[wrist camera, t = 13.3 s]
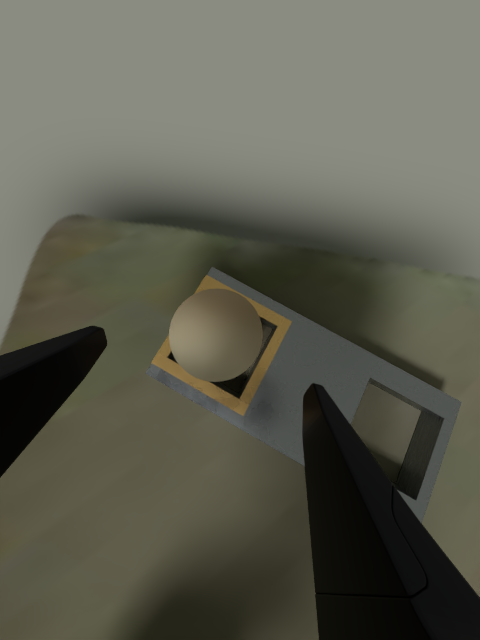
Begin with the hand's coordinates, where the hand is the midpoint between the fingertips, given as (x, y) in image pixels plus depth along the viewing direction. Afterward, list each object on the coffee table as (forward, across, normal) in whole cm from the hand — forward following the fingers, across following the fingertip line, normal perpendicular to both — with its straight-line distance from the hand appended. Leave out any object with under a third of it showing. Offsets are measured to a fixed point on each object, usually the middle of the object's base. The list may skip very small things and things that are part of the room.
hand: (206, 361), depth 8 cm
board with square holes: (+7, -8, +8) cm, 13 cm away
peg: (+8, 0, +7) cm, 11 cm away
